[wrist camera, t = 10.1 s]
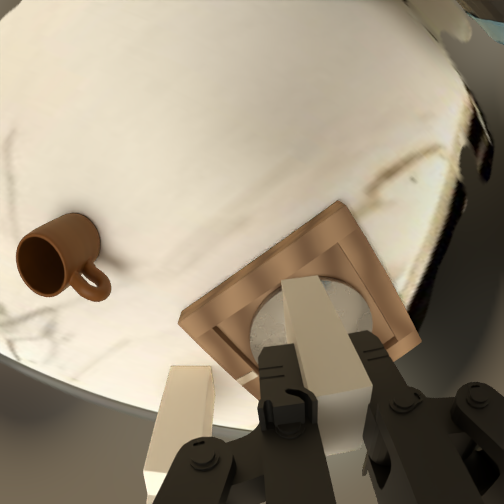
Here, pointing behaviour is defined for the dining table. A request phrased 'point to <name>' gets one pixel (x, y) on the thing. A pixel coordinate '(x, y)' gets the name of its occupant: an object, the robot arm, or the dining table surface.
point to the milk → (179, 420)
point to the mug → (63, 258)
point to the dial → (273, 322)
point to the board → (288, 267)
